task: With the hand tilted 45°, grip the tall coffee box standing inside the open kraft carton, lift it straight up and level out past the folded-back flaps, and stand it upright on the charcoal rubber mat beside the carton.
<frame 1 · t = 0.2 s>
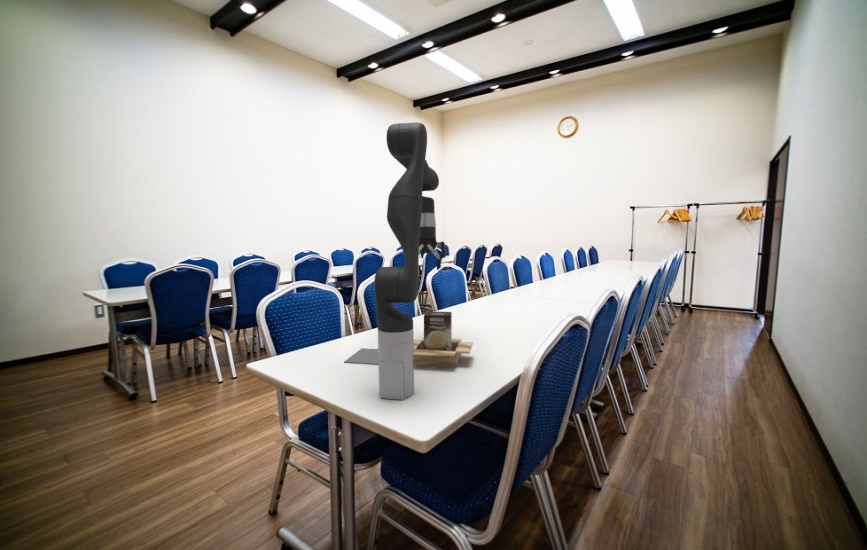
hand: (426, 269, 138), 29 cm above the table, tool pointing down, fingers open, 8 cm apart
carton: (437, 360, 123), on the table
coffee box: (437, 361, 123), resting in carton
mat: (372, 356, 127), on the table
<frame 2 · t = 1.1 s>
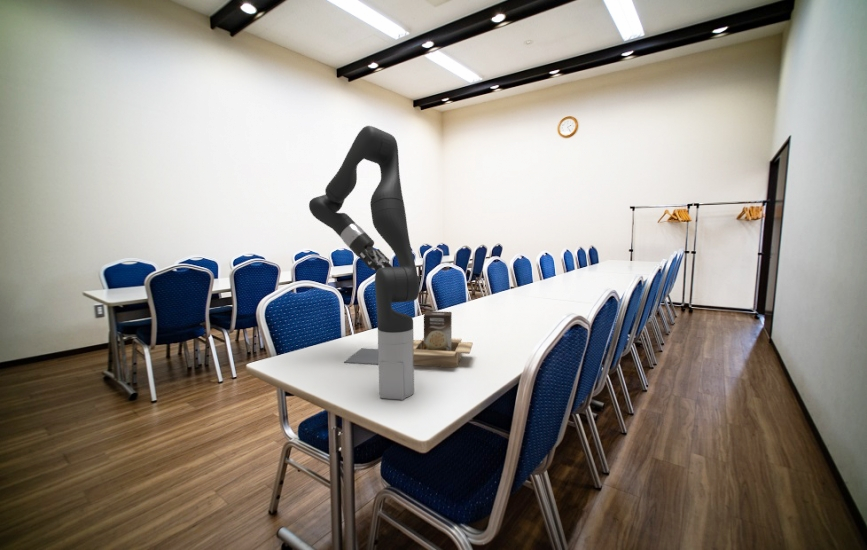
hand: (389, 274, 123), 29 cm above the table, tool tilted 45°, fingers open, 8 cm apart
nothing on the table moved.
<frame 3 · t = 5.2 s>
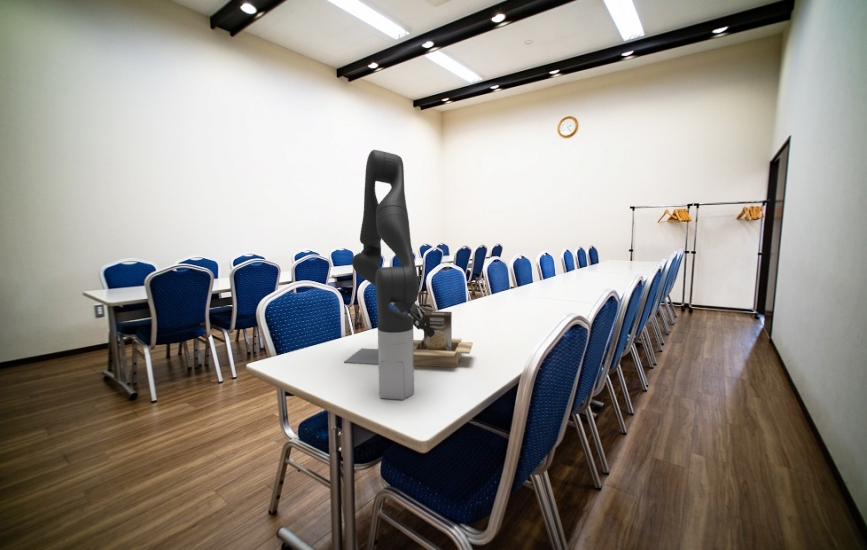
hand: (435, 332, 122), 9 cm above the table, tool tilted 45°, fingers closed on coffee box, 6 cm apart
coffee box: (438, 360, 123), resting in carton, touching gripper
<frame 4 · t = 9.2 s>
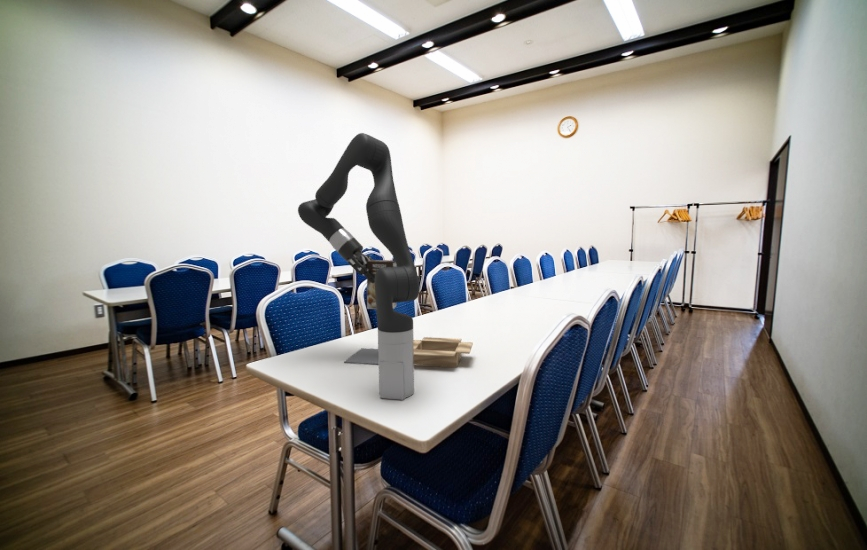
hand: (379, 280, 124), 27 cm above the table, tool tilted 45°, fingers closed on coffee box, 6 cm apart
coffee box: (382, 308, 125), point 17 cm above the table, touching gripper
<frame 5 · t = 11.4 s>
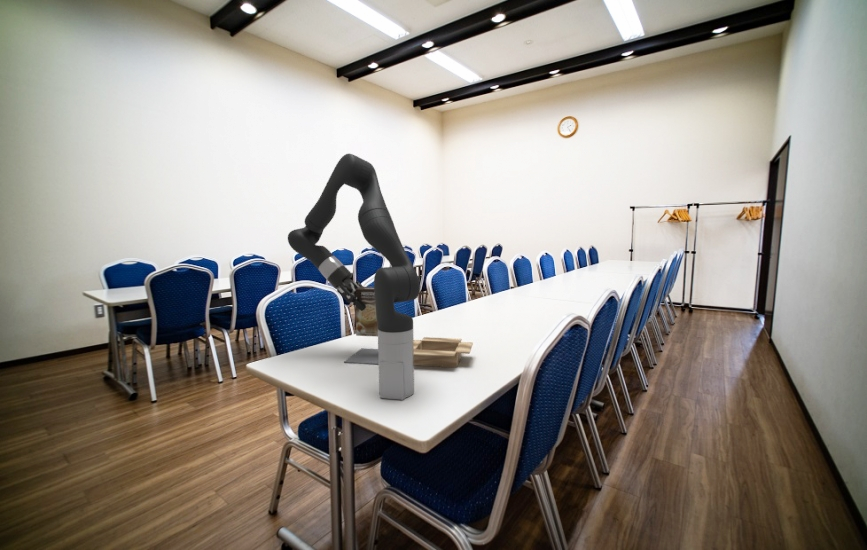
hand: (368, 307, 126), 17 cm above the table, tool tilted 45°, fingers closed on coffee box, 6 cm apart
coffee box: (371, 334, 127), point 8 cm above the table, touching gripper
when the fingers open (11 cm above the table, at t = 13.2 s): coffee box drops 1 cm, resting on mat.
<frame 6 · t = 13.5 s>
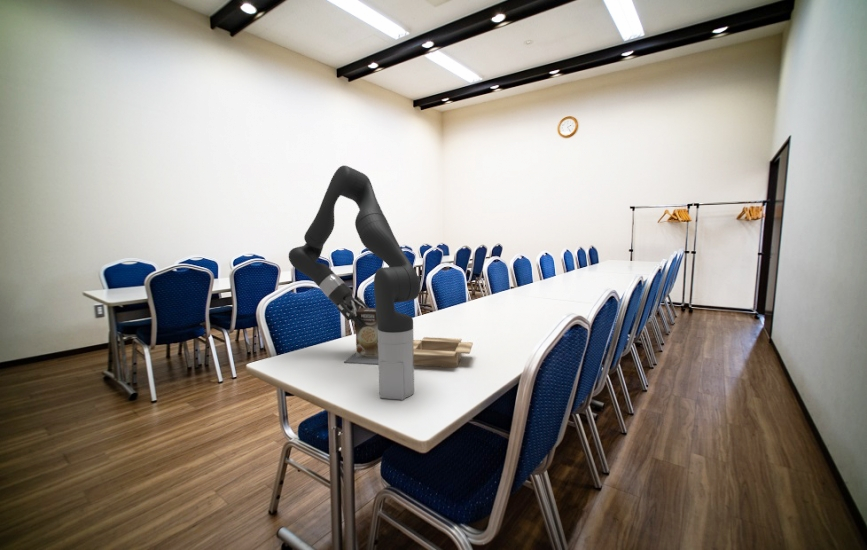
hand: (368, 323, 126), 12 cm above the table, tool tilted 45°, fingers open, 8 cm apart
coffee box: (371, 355, 128), resting on mat
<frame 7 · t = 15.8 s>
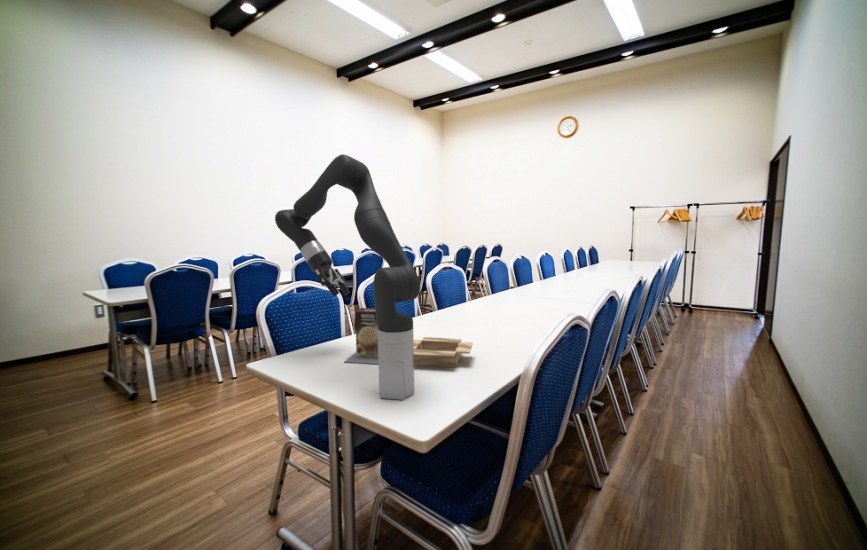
hand: (342, 294, 126), 22 cm above the table, tool tilted 40°, fingers open, 8 cm apart
nothing on the table moved.
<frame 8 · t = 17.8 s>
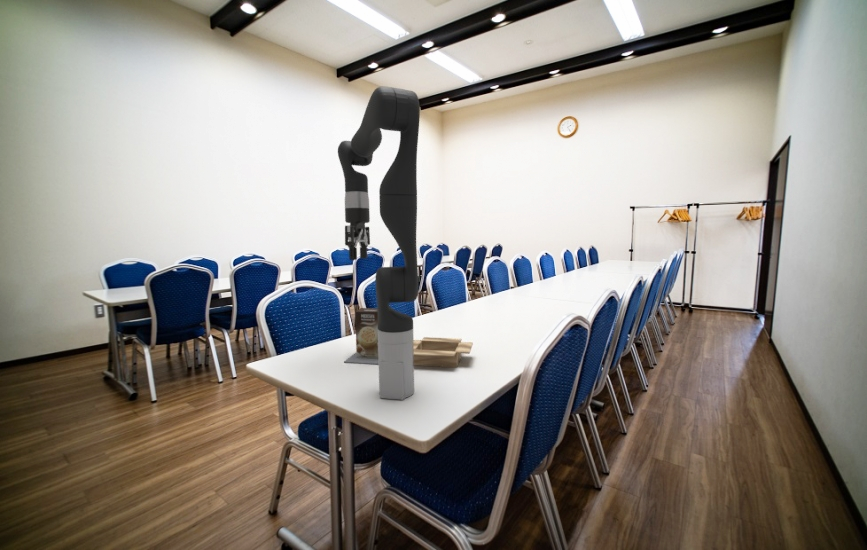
hand: (358, 259, 117), 34 cm above the table, tool pointing down, fingers open, 8 cm apart
nothing on the table moved.
at the end: coffee box inside the target area on the mat (0.4 cm from its centre), point 0.2 cm above the mat's base; coffee box tilted 0°; the gripper is holding nothing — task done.
